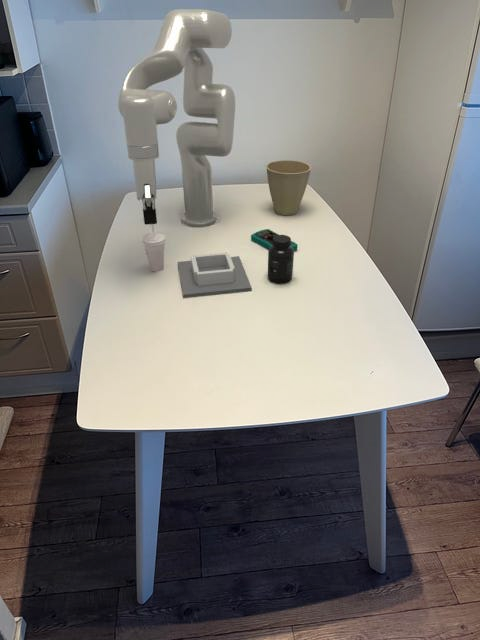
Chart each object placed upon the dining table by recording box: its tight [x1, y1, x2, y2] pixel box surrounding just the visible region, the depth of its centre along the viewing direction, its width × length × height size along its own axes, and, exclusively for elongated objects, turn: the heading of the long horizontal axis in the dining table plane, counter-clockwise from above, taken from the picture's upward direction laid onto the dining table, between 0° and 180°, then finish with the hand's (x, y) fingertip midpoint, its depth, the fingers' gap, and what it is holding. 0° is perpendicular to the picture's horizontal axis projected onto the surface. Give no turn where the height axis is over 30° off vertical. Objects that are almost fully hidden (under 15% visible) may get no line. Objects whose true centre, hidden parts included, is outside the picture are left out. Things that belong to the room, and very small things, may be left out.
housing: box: [177, 252, 253, 299], centre depth 134 cm, size 18×18×4 cm
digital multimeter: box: [250, 228, 298, 252], centre depth 151 cm, size 7×15×3 cm, turn 37°
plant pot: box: [266, 159, 312, 216], centre depth 168 cm, size 15×15×16 cm
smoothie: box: [141, 224, 166, 273], centre depth 135 cm, size 6×6×14 cm
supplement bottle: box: [267, 234, 295, 285], centre depth 131 cm, size 7×7×12 cm
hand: (150, 216), depth 130 cm, fingers open, 9 cm apart
